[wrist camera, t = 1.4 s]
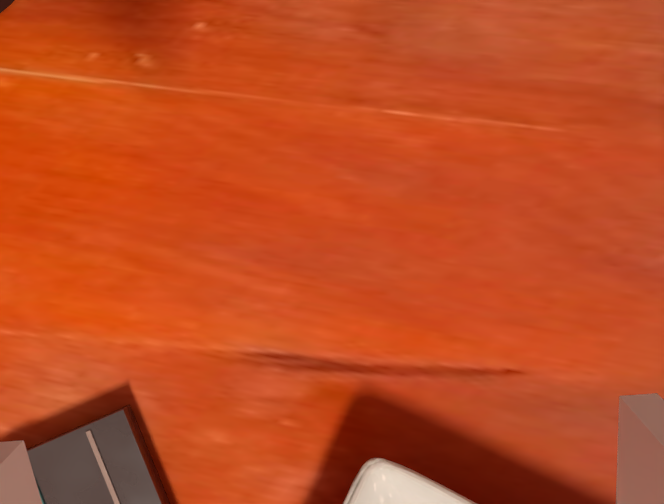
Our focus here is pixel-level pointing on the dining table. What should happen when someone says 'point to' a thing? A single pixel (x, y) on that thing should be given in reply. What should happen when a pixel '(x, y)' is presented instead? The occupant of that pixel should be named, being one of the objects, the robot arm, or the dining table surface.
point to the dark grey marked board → (98, 464)
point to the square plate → (397, 486)
